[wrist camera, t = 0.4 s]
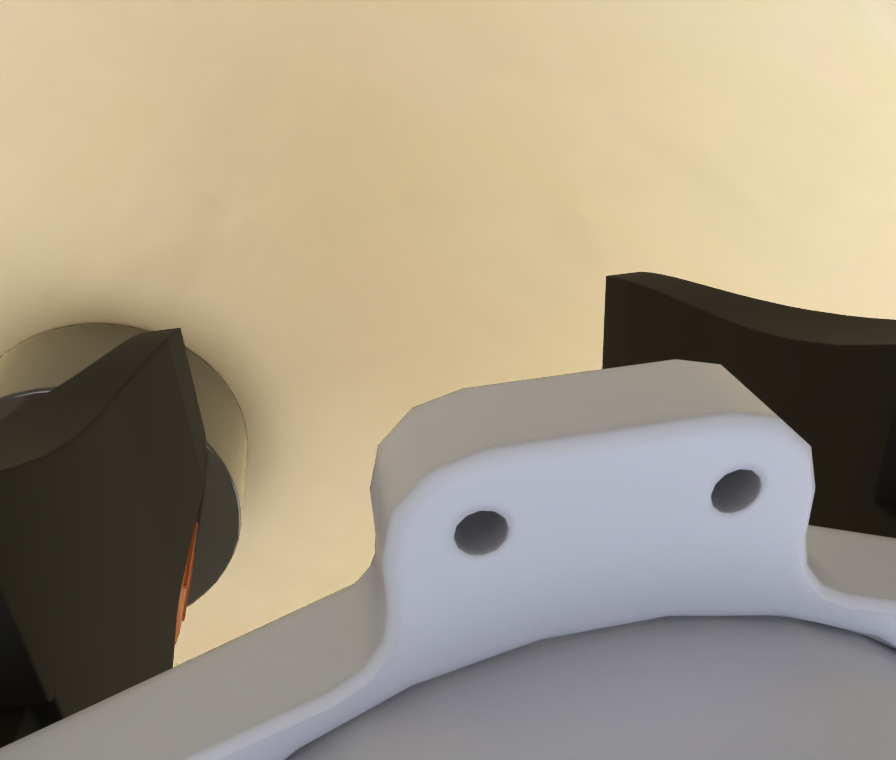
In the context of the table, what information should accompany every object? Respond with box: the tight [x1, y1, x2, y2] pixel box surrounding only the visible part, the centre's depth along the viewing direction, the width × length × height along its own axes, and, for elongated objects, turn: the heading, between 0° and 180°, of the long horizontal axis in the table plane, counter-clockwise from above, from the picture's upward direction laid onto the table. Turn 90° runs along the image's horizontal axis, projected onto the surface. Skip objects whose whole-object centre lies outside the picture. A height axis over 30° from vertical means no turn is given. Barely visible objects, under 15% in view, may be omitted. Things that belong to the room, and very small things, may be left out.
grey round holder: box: [0, 324, 247, 607], centre depth 21 cm, size 8×8×7 cm
